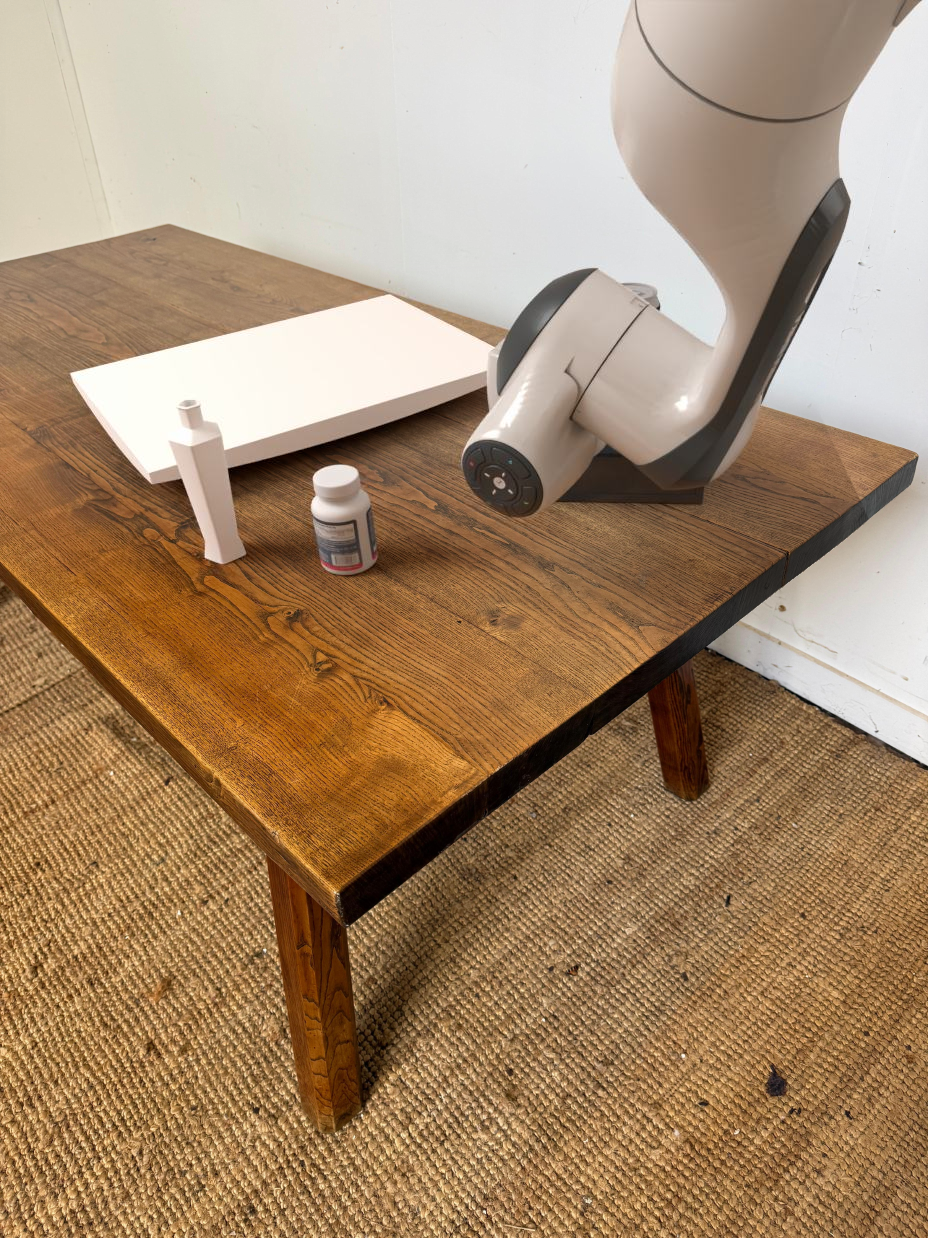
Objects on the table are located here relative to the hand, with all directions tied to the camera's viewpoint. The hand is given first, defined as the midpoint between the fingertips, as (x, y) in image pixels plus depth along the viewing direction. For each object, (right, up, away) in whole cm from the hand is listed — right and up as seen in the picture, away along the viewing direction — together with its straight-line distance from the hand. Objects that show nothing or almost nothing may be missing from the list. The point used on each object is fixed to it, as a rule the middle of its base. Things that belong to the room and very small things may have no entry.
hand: (629, 344), depth 86 cm
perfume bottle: (-38, -21, -2) cm, 44 cm away
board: (-37, 0, +24) cm, 44 cm away
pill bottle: (-27, -22, -4) cm, 35 cm away
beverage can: (0, -6, +3) cm, 7 cm away
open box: (0, -10, +7) cm, 13 cm away
